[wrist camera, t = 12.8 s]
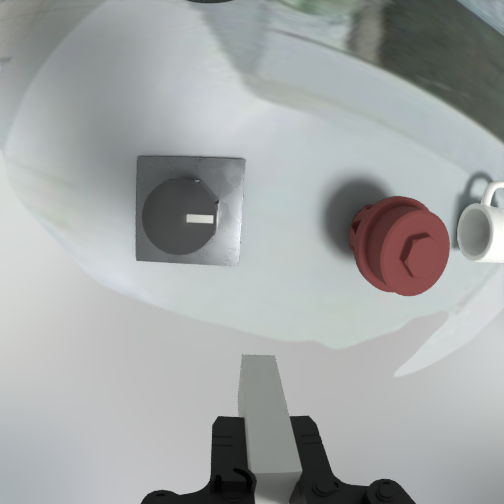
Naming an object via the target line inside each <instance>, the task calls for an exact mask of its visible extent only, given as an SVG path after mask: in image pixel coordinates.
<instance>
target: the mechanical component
mask: <svg viewBox="0 0 504 504" xmlns="http://www.w3.org/2000/svg"><path fill="white" fill-rule="evenodd" d="M349 240H350V248H351V249H352V250H353V251H354V255H355V260H356V264H357V267H358V269H359V271H360V272H361V274H362V275H363V277H364V278H365V279H366V280H367V281H368V282H369V283H371V284H372V285H373V286H374V287H376V288H378V289H380V290H382V291H386V292H395V293H397V294H399V295H403V296H415V295H418V294H421V293H423V292H425V291H426V290H428V289H429V288H431V287H432V286H433V285H434V284H435V283H436V282H437V280H438V279H439V278H440V276H441V275H442V273H443V271H444V269H445V267H446V264H447V261H448V257H449V250H450V242H449V236H448V232H447V229H446V227H445V225H444V223H443V222H442V220H441V219H440V218H439V217H438V216H436V215H435V214H434V213H432V212H430V211H429V210H428V208H427V207H425V206H424V205H423V204H422V203H420V202H419V201H417V200H415V199H412V198H407V197H402V196H393V197H388V198H386V199H383V200H381V201H379V202H378V203H376V204H375V205H366V206H365V207H364V209H362V210H361V211H360V212H359V213H358V214H357V215H356V216H355V218H354V219H353V222H352V224H351V227H350V232H349Z"/></svg>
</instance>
